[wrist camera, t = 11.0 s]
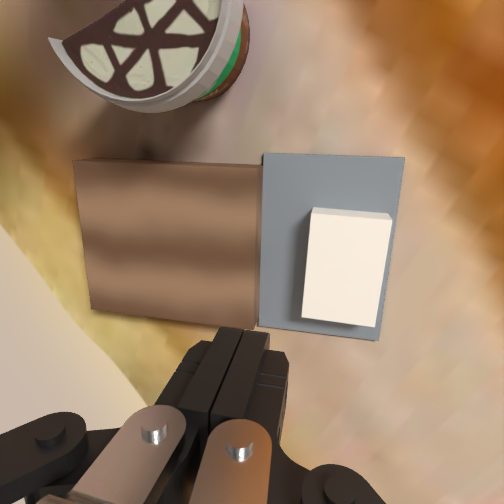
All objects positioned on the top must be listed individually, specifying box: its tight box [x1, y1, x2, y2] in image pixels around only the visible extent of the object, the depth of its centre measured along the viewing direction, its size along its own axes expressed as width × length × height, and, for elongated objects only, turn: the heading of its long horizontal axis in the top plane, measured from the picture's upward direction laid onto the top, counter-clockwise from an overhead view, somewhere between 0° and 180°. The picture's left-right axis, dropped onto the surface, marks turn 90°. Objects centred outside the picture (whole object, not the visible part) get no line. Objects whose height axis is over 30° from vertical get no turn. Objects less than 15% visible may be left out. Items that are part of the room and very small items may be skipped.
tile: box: [302, 207, 392, 327], centre depth 31 cm, size 9×6×2 cm, turn 178°
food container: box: [48, 0, 250, 113], centre depth 26 cm, size 12×6×10 cm, turn 111°
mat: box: [259, 153, 405, 341], centre depth 32 cm, size 16×11×1 cm
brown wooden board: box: [73, 158, 263, 330], centre depth 34 cm, size 14×16×3 cm
